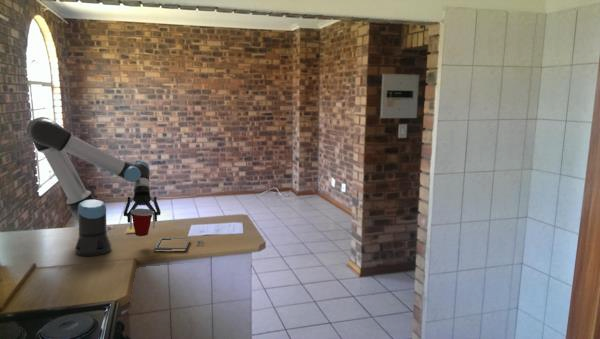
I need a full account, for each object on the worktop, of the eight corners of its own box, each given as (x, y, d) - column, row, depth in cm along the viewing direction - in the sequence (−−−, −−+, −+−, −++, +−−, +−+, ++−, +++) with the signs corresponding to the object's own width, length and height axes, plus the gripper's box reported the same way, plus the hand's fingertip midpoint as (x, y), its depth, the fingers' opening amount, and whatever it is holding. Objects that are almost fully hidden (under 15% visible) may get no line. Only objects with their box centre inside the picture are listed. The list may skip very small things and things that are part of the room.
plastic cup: (149, 238, 201) (149, 214, 199) (126, 237, 201) (126, 212, 199) (157, 232, 211) (157, 208, 209) (135, 230, 211) (135, 207, 210)
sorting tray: (154, 251, 201) (154, 247, 200) (160, 241, 215) (160, 237, 215) (185, 251, 202) (185, 247, 202) (189, 241, 217) (189, 238, 216)
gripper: (164, 192, 222) (166, 230, 210) (118, 193, 213) (117, 232, 201) (165, 184, 216) (167, 222, 204) (118, 184, 208) (117, 224, 195)
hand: (142, 227), depth 203 cm, fingers closed on plastic cup, 10 cm apart
